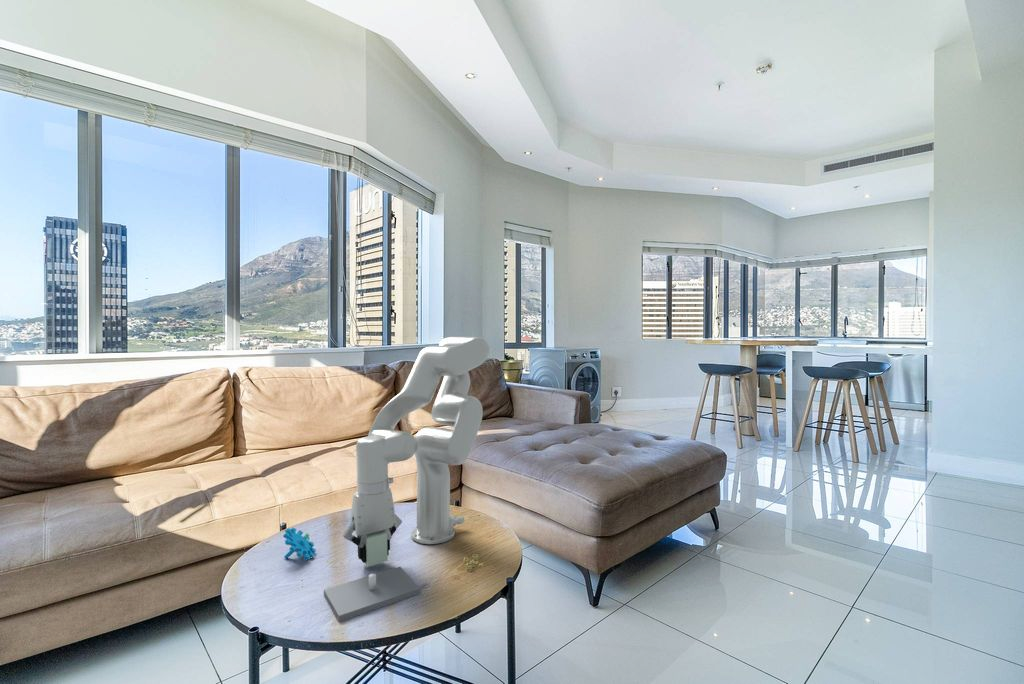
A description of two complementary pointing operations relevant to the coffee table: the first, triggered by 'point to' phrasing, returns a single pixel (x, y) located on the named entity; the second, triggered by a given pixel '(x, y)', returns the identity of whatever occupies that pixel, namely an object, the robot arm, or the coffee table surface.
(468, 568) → the dice set
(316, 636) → the coffee table surface
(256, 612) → the coffee table surface
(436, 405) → the robot arm
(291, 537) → the gear
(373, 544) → the block
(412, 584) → the pin plate
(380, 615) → the coffee table surface
